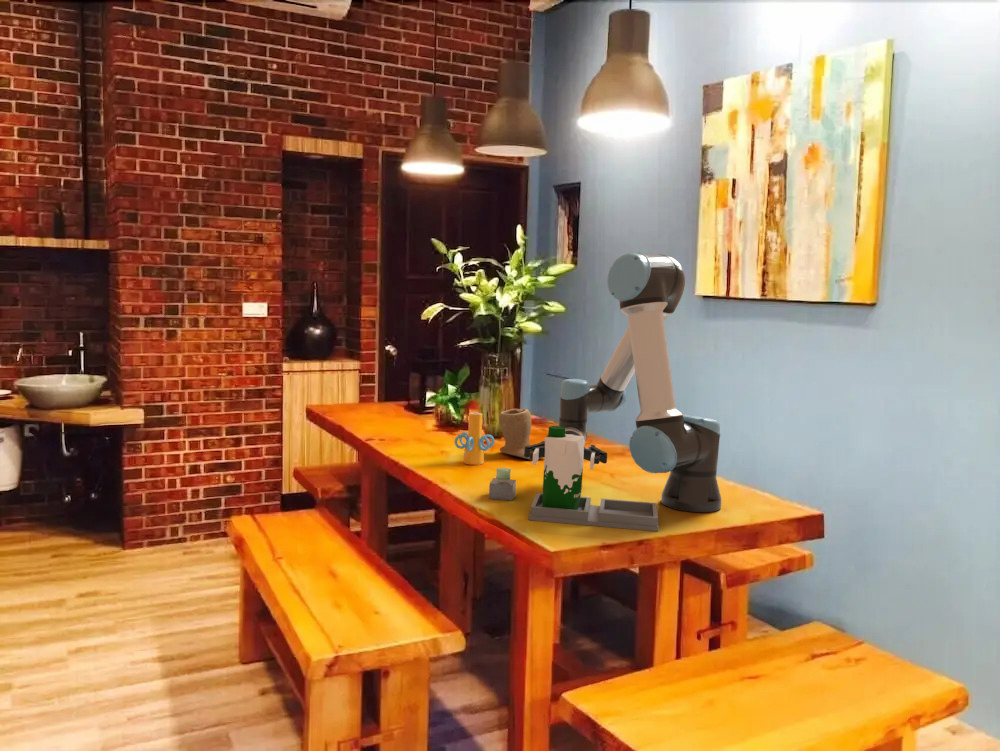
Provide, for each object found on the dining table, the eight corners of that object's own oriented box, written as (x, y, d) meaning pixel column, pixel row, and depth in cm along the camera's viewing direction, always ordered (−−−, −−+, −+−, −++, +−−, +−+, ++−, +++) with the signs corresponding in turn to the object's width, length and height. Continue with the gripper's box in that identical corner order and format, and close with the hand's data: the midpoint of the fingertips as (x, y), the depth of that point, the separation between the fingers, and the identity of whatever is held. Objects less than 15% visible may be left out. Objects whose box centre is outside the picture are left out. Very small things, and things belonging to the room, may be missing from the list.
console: (515, 494, 229) (516, 479, 228) (512, 500, 223) (513, 485, 222) (492, 493, 229) (493, 478, 229) (488, 498, 224) (489, 483, 223)
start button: (511, 477, 227) (511, 468, 227) (509, 480, 223) (509, 471, 223) (497, 476, 228) (497, 467, 227) (495, 479, 224) (495, 470, 224)
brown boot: (489, 453, 278) (491, 406, 276) (519, 450, 285) (521, 404, 283) (519, 463, 266) (522, 414, 264) (549, 459, 273) (552, 412, 271)
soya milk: (547, 503, 218) (552, 423, 216) (583, 508, 215) (588, 427, 213) (537, 511, 210) (542, 429, 207) (574, 517, 207) (579, 433, 205)
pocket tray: (656, 514, 216) (657, 502, 216) (658, 531, 202) (659, 518, 202) (535, 504, 221) (535, 492, 220) (528, 519, 206) (529, 507, 206)
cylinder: (457, 467, 257) (459, 416, 255) (450, 459, 267) (452, 410, 265) (498, 466, 260) (500, 416, 258) (489, 459, 270) (491, 410, 268)
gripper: (616, 462, 227) (615, 481, 206) (521, 454, 231) (509, 472, 210) (618, 433, 226) (617, 449, 205) (522, 426, 230) (511, 441, 209)
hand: (562, 461), depth 208 cm, fingers open, 13 cm apart
